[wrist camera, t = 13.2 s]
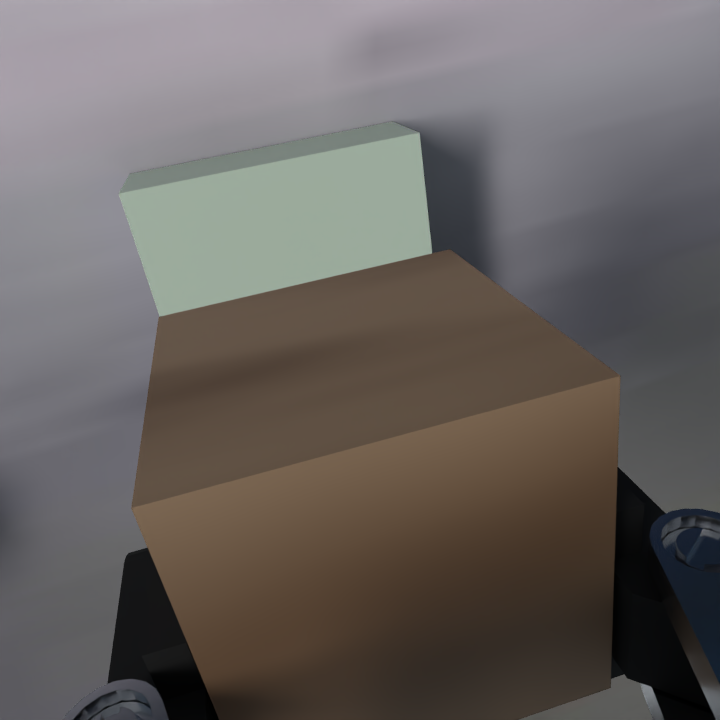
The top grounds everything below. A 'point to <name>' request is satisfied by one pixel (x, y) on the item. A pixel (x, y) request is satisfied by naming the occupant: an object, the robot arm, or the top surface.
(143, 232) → the trough
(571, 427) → the block
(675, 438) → the top surface
